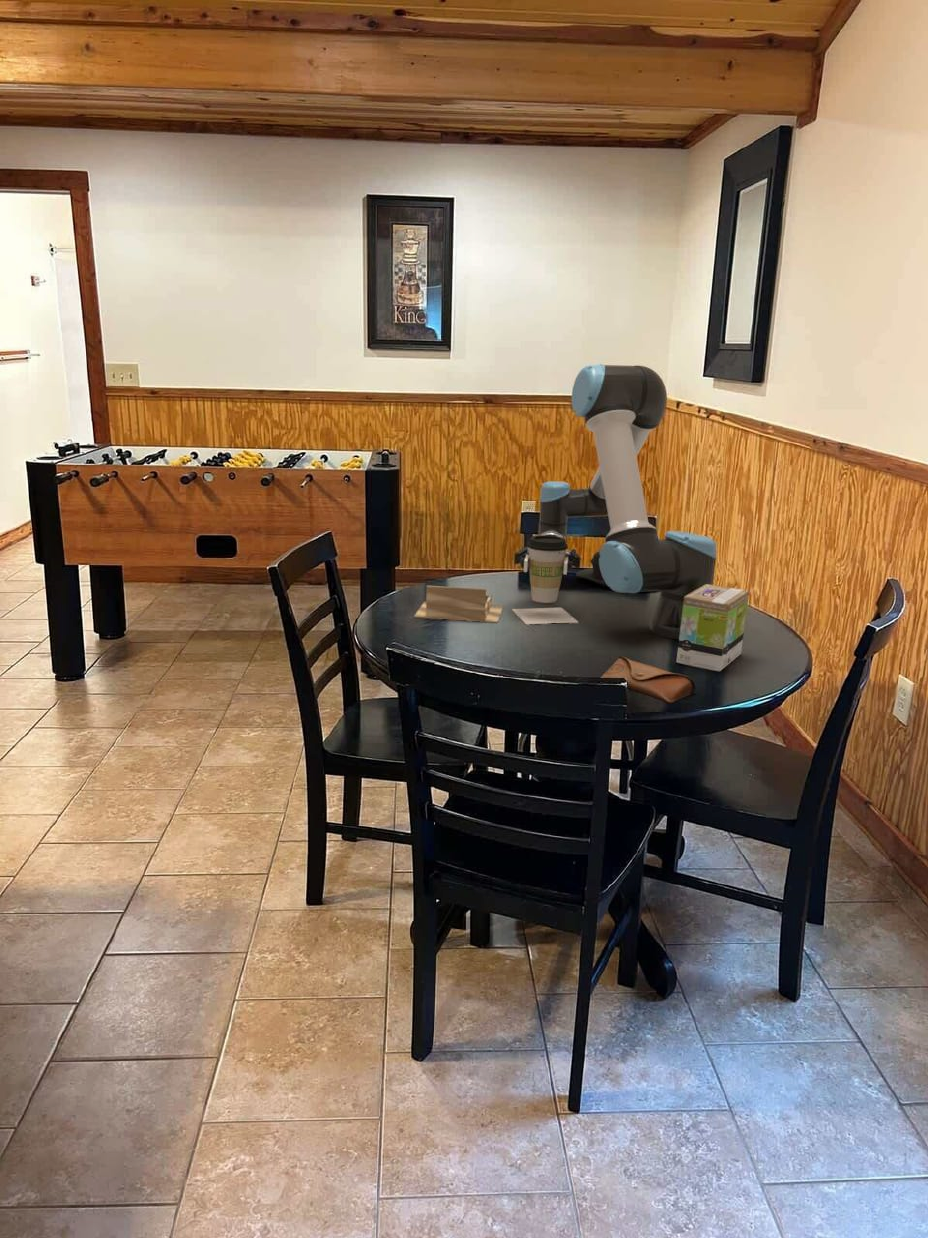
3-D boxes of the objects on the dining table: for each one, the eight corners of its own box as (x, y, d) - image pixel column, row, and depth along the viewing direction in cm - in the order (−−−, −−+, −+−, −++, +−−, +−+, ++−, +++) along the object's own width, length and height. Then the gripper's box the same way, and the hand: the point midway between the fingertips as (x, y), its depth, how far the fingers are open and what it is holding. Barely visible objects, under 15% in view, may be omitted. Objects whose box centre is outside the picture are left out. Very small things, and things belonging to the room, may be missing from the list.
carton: (426, 599, 238) (426, 569, 236) (504, 604, 236) (505, 574, 234) (413, 617, 222) (414, 585, 220) (497, 623, 219) (498, 590, 217)
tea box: (722, 673, 189) (730, 603, 185) (675, 663, 194) (681, 595, 190) (742, 654, 201) (750, 588, 197) (697, 646, 206) (704, 581, 202)
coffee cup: (542, 606, 219) (545, 544, 214) (515, 597, 226) (518, 537, 222) (572, 601, 224) (576, 540, 220) (546, 592, 232) (549, 533, 228)
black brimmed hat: (672, 584, 262) (675, 555, 260) (649, 597, 247) (651, 567, 244) (591, 572, 274) (593, 544, 272) (564, 584, 259) (566, 554, 257)
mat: (578, 623, 221) (578, 621, 221) (525, 625, 218) (526, 623, 218) (561, 608, 233) (561, 607, 233) (511, 610, 231) (511, 609, 231)
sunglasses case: (593, 678, 183) (605, 647, 184) (609, 688, 188) (621, 658, 189) (671, 703, 171) (684, 670, 172) (687, 713, 176) (699, 681, 177)
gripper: (590, 564, 239) (589, 586, 218) (508, 559, 242) (499, 580, 221) (592, 536, 237) (592, 554, 216) (509, 531, 240) (500, 549, 219)
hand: (545, 567), depth 218 cm, fingers closed on coffee cup, 9 cm apart
